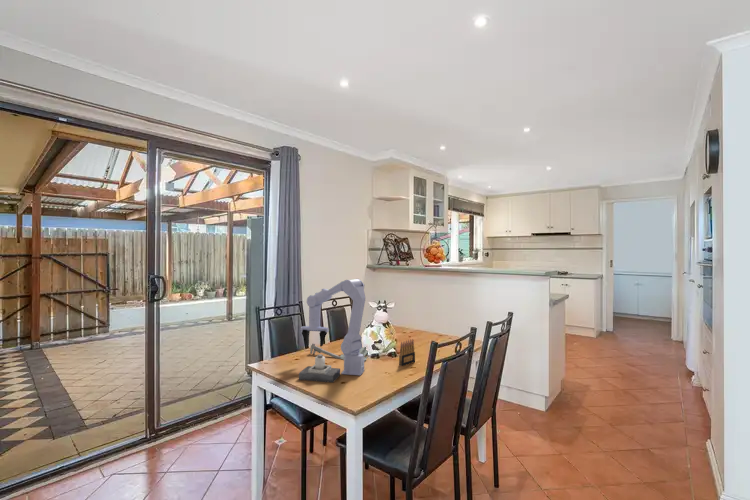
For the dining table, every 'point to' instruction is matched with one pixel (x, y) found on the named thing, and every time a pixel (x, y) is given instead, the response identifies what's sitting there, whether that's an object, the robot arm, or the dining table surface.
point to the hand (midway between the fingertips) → (314, 345)
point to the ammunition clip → (407, 353)
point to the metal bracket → (362, 351)
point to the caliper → (322, 351)
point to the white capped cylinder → (320, 362)
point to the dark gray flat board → (319, 374)
